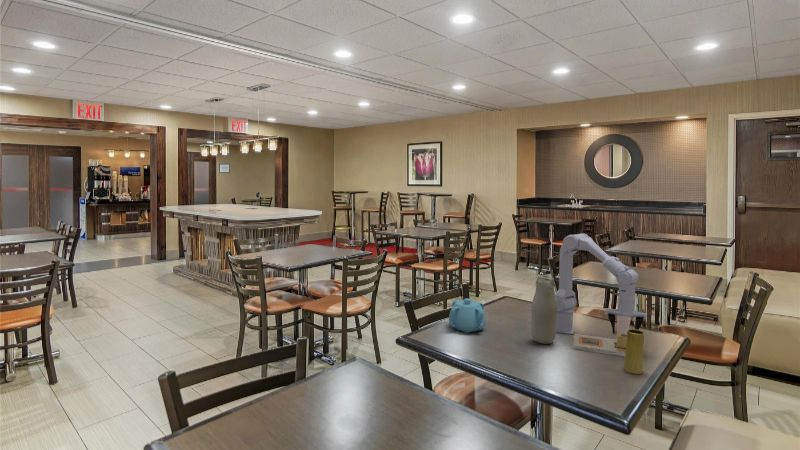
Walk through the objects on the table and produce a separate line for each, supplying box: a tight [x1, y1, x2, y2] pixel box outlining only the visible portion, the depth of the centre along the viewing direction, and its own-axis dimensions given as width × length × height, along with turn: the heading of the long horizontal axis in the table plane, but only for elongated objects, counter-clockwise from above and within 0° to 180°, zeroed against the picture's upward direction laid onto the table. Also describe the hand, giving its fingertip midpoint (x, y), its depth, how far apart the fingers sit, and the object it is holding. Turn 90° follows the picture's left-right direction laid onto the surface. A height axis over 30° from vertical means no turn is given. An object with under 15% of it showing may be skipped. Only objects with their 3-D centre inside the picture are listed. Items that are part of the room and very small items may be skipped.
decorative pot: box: [448, 298, 487, 334], centre depth 200 cm, size 16×16×14 cm
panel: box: [572, 333, 626, 358], centre depth 180 cm, size 24×14×2 cm, turn 67°
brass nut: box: [615, 332, 627, 349], centre depth 177 cm, size 5×5×6 cm
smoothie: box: [616, 315, 632, 334], centre depth 195 cm, size 6×6×14 cm
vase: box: [623, 328, 645, 375], centre depth 158 cm, size 6×6×14 cm
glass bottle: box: [530, 274, 558, 345], centre depth 183 cm, size 10×10×28 cm
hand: (624, 334), depth 177 cm, fingers open, 7 cm apart
